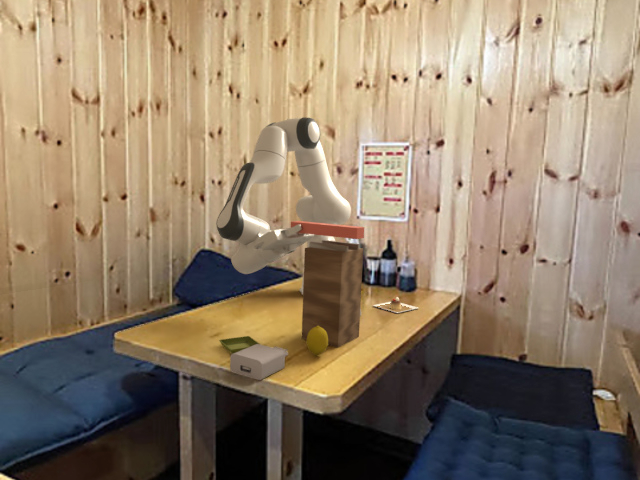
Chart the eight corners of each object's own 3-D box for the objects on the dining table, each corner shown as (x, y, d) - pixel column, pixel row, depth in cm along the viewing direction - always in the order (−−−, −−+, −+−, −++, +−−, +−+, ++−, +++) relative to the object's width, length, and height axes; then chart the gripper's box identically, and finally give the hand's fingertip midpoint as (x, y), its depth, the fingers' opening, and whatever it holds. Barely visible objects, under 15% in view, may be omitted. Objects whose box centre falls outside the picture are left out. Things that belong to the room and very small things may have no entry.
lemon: (311, 360, 124) (312, 329, 123) (302, 353, 129) (303, 323, 128) (331, 358, 126) (332, 327, 125) (322, 351, 131) (323, 321, 130)
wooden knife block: (324, 329, 151) (327, 239, 148) (358, 336, 145) (363, 243, 141) (301, 338, 141) (305, 242, 138) (337, 347, 135) (342, 247, 131)
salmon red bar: (298, 230, 148) (298, 220, 148) (363, 237, 137) (364, 227, 136) (290, 231, 145) (290, 221, 145) (356, 239, 133) (357, 228, 133)
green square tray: (261, 352, 130) (262, 345, 129) (230, 357, 125) (230, 349, 125) (248, 343, 137) (248, 335, 137) (218, 347, 132) (218, 339, 132)
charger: (299, 362, 123) (261, 382, 110) (269, 354, 128) (229, 372, 115) (299, 343, 123) (261, 361, 110) (269, 336, 127) (230, 352, 115)
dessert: (371, 308, 181) (372, 295, 180) (393, 303, 189) (394, 291, 188) (397, 315, 172) (398, 302, 171) (418, 310, 180) (419, 297, 179)
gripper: (247, 238, 143) (280, 217, 136) (288, 233, 160) (320, 214, 153) (255, 258, 142) (289, 238, 135) (296, 251, 159) (329, 233, 152)
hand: (306, 225), depth 144 cm, fingers closed on salmon red bar, 4 cm apart
